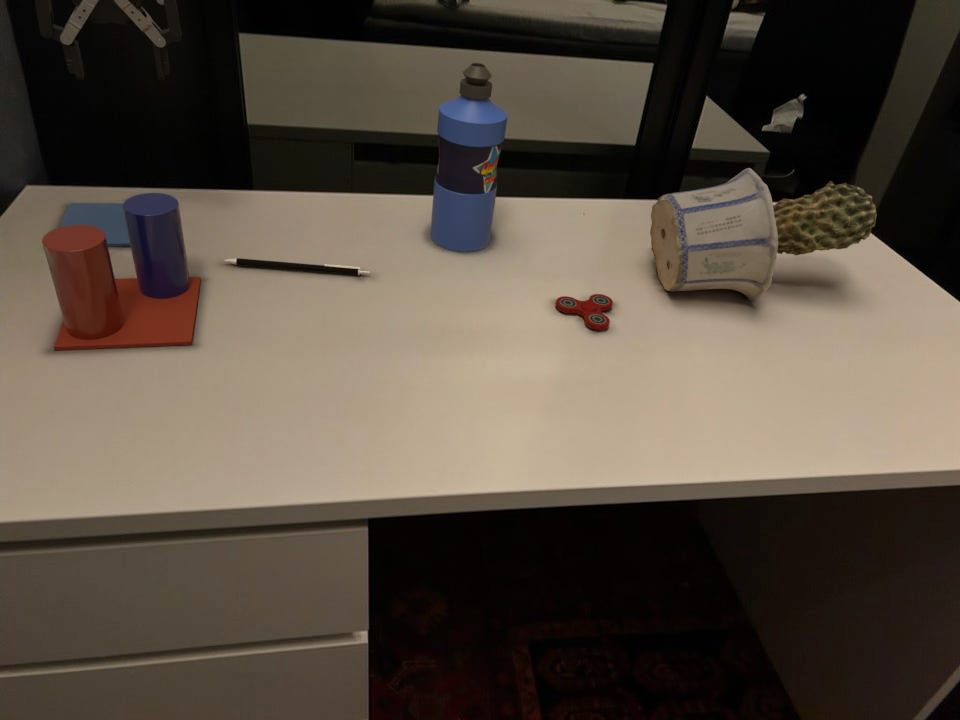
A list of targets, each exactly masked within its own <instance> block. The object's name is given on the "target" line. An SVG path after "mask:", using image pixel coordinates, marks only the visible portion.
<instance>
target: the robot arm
mask: <svg viewBox="0 0 960 720" xmlns="http://www.w3.org/2000/svg"><path fill="white" fill-rule="evenodd" d="M145 1H146V0H71V2H72V3H73V4H74V5H75V6H76V7H74V10H73V12H72V13H71V14H70V17H69V18H68V19H67V22H66V23H65V25H64V27H63V26H60V25H58V24H55V17H54V12H53V11H54V10H53V5H52V0H34V5H35V11H36V17H37V22H38V29H39V34H40V35H41V37H42V38H45V39H51V40H55V41H57V42H58V43H60V44H61V47H62V49H63V54H64V59H65V64H66V68H67V71H68V73H69V74H70V75H74V76H75V79H76V80H85V69H84V64H83V58H82V54H81V49H80V44H79V41H78V40H76V37H77V36H78V34H79V32H80V31H81V30H82V28H83V26H84V24H85V23H86V21H87V20H88V19H89V20H90V21H92V22H95V24H102V25H103V24H107V23H113V24H118V25H127V24H129V23H131V22H133V23H134V24H135V25H136V27H138V29H139V30H140V31H141V32H142V33H144V34H145V36H147V37H148V38H149V40H150V41H151V42H152V43H153V44H152V45H153V54H154V63H155V69H156V76H157V81H165V76H169V74H170V68H171V67H170V60H169V53H168V46H169V45H170V44H172V43H179V42H182V39H183V34H182V27H181V21H180V20H181V19H180V16H179V11H178V5H177V0H155V1H156V2H157V4H159V5H161V6H164V10H165V15H166V20H167V24H168V28H165V29H161V28H160V27H159V25H158V24H157V23H156V22H155V21H154V20H153V18H152V17H151V15H150V14H149V13H148V12H147V11H146V10H145V8H144V7H143V5H144V3H145Z"/></svg>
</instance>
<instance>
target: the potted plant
mask: <svg viewBox="0 0 960 720" xmlns="http://www.w3.org/2000/svg"><path fill="white" fill-rule="evenodd" d="M877 216H878V215H877V208H876V204H875V203H874V202H873V195H870V194H868V193H866V191H865V189H864V188H862V187H859V186H856V185H853V184H849V183H847V182H843V183H838V184H835V183H834V181H831V180H829V181H828V183H826V184H825V186H824V187H821V188H819V189H816V190H815V191H814V192H813V193H812V194H804V195H803V196H801V197H799V198H794V199H791V198H790V199H789V198H784V197H783V198H782V199H780V200H778V202H776V203H775V204H774V203H773V198H772V194H771V192H770V189H769V187H768V184H766V183H765V182H764V181H763V179H762V178H761V177H760V176H759V175H758V173H756V172H755V171H754V170H753V169H752V168H750V167H747V168H745V169H743V170H742V171H740V172H738V174H737V175H735V176H734V177H732V178H731V179H730V180H728V181H727V182H724V183H721V184H718V185H714V186H709V187H704V188H697V189H693V190H686V191H679V192H678V191H675V192H671V193H666V194H663V195H661V196H659V197H658V198H657V201H656V202H655V203H654V204H653V205H652V206H651V213H650V219H651V220H650V221H651V224H650V225H651V226H650V232H649V234H650V244H651V252H652V254H653V259H654V262H655V266H656V270H657V271H656V272H657V278H658V279H657V280H658V281H659V282H660V283H661V285H662V287H663V289H664V290H665V291H667V292H689V291H690V292H692V291H701V290H703V291H704V290H730V291H731V290H732V291H736V292H738V293H740V294H742V295H744V296H745V297H746V298H747V299H748V300H754V299H757V298H759V297H761V296H762V295H763V294H765V293H766V292H767V291H768V290H769V289H770V287H771V285H772V283H773V275H774V272H775V266H776V260H777V255H778V254H779V255H782V254H783V253H785V254H786V255H794V256H796V257H797V256H801V255H807V254H813V253H814V252H815V251H830V250H843V249H848V248H849V247H851V246H852V245H856V244H860V242H861V241H865V240H866V239H868V238H869V237H870V236H871V235H870V234H871V233H872V229H873V228H874V227H875V226H876V221H877Z"/></svg>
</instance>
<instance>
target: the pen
mask: <svg viewBox="0 0 960 720" xmlns="http://www.w3.org/2000/svg"><path fill="white" fill-rule="evenodd" d="M223 262H225V263H228V264H232V265H236V266H245V267H257V268H268V269H280V270H292V271H305V272H314V273H315V272H316V273H317V272H318V273H328V274H342V275H354V276H361V274H365V275H370V274H371V271H370V270H361V267H360V266H352V265H342V264H341V265H340V264H339V265H338V264H330V263H329V264H328V263H325V264H324V265H323V264H310V263H300V262H288V261H287V262H286V261H274V260H264V259H263V260H262V259H250V258H239V257H236V258H228V259H224V260H223Z"/></svg>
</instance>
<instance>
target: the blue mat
mask: <svg viewBox="0 0 960 720" xmlns="http://www.w3.org/2000/svg"><path fill="white" fill-rule="evenodd" d="M123 203H124V202H123ZM123 203H117V202H116V203H115V202H113V203H112V202H111V203H108V202H107V203H103V202H101V203H100V202H99V203H98V202H97V203H96V202H94V203H93V202H91V203H90V202H87V203H86V202H85V203H84V202H83V203H82V202H80V203H79V202H75V203H74V202H70V203H69V204H68V207H67V209H66V211H65V213H64V215H63V217H62V219H61V221H60V223H59V225H58V227H57V228H60V227H63V226H69V225H90V226H95V227H98V228H100V229H101V230H103V231H104V233H105V235H106V240H107V244H108V248H109V247H111V248H112V247H115V248H116V247H118V248H119V247H131V246H130V241H129V235H128V230H127V225H126V220H125V215H124V210H123Z"/></svg>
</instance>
